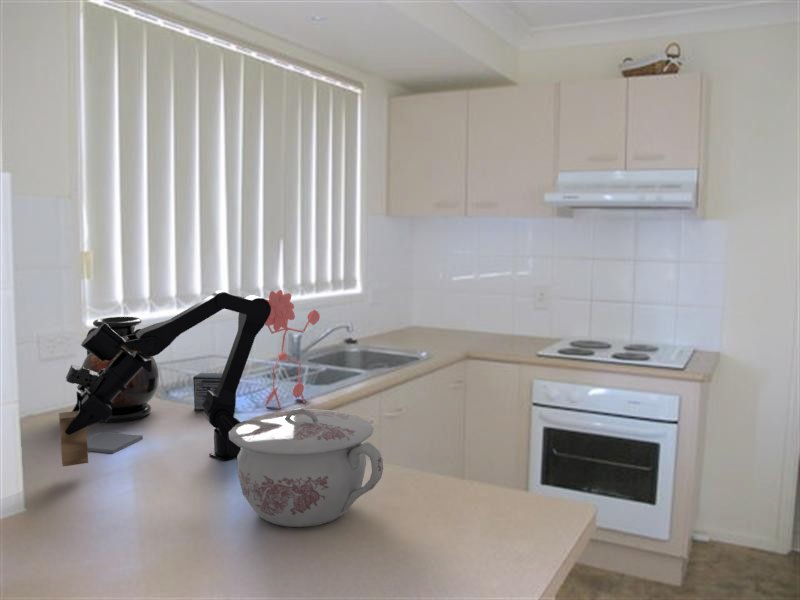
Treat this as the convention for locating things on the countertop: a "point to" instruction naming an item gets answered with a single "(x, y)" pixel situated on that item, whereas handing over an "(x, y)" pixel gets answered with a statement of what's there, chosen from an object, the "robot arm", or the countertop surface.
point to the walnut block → (72, 441)
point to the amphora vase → (140, 387)
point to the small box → (204, 387)
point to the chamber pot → (304, 464)
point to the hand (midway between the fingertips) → (66, 430)
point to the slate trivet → (111, 442)
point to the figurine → (279, 317)
